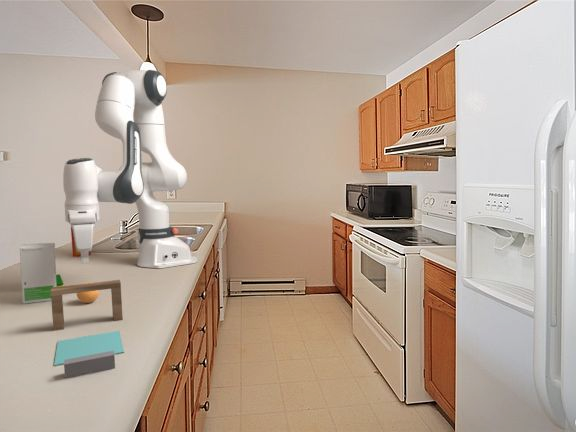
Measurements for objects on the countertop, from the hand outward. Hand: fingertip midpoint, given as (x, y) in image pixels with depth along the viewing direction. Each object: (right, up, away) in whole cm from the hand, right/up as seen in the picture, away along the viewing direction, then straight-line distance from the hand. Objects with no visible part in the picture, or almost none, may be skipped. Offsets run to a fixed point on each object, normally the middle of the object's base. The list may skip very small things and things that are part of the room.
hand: (85, 262), depth 117 cm
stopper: (+23, -14, -45) cm, 52 cm away
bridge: (+12, -12, -21) cm, 27 cm away
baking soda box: (-31, -3, +60) cm, 67 cm away
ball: (+4, -8, -7) cm, 11 cm away
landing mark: (+18, -13, -35) cm, 42 cm away
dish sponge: (-16, -9, +10) cm, 21 cm away
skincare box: (-11, -10, -3) cm, 15 cm away
